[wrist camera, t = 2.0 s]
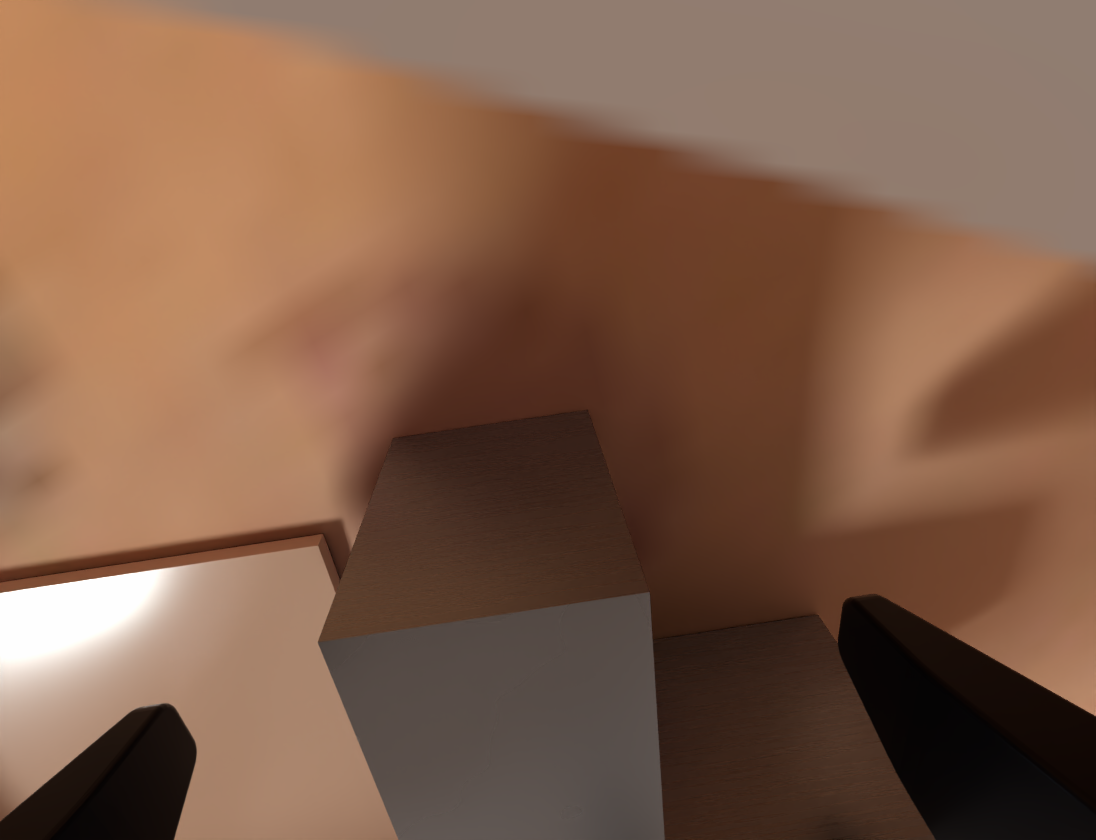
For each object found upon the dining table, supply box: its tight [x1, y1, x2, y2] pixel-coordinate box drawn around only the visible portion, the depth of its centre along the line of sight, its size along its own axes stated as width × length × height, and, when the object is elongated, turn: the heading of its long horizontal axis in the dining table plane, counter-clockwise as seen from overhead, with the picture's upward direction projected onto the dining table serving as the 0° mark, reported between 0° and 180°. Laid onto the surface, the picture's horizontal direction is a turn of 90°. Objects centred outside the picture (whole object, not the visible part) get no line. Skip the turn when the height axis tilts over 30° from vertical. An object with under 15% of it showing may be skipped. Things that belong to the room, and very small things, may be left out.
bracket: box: [318, 410, 935, 840], centre depth 9 cm, size 8×7×4 cm
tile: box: [0, 534, 398, 840], centre depth 11 cm, size 9×8×1 cm
